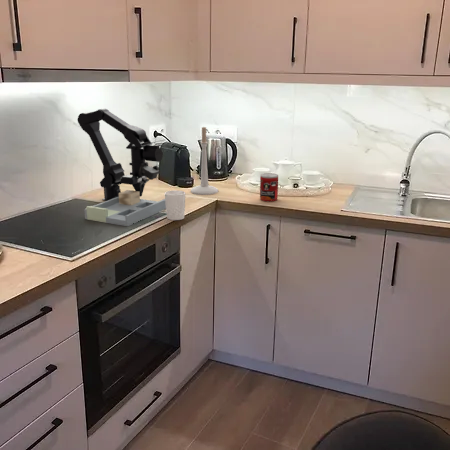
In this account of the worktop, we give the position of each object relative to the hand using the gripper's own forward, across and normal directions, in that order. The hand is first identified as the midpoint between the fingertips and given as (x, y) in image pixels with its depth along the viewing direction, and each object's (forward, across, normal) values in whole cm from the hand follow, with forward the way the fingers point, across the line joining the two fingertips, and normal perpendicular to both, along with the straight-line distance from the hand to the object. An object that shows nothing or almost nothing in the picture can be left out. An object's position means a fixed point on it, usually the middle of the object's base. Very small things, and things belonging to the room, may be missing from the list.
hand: (140, 196), depth 216 cm
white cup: (+3, -12, -24) cm, 27 cm away
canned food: (+3, +30, -47) cm, 56 cm away
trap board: (+3, -14, -4) cm, 15 cm away
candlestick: (+3, +30, -15) cm, 34 cm away
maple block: (+1, -7, 0) cm, 7 cm away
